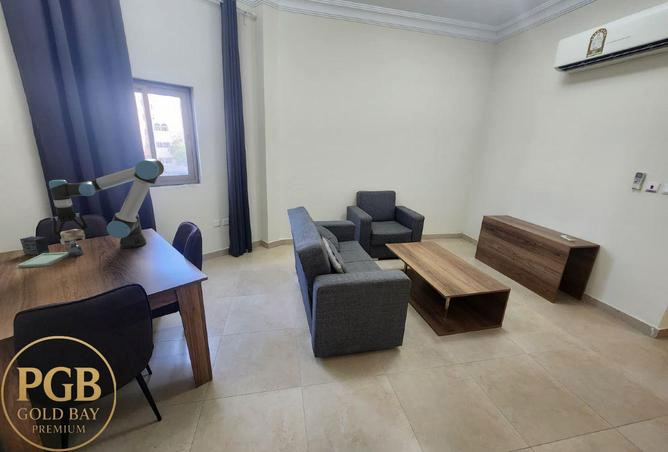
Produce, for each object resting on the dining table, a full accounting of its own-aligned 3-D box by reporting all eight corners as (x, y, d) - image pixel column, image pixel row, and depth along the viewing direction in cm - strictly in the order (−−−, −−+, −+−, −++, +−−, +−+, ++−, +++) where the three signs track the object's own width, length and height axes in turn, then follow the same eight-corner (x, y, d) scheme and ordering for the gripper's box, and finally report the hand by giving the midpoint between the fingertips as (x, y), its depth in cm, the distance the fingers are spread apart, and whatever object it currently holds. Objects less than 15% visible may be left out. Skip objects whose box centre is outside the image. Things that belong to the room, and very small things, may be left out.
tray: (70, 254, 169) (70, 251, 169) (48, 265, 152) (48, 263, 152) (44, 255, 166) (43, 253, 166) (18, 267, 149) (17, 265, 149)
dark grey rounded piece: (86, 252, 172) (82, 236, 169) (79, 256, 166) (74, 240, 163) (73, 253, 171) (69, 236, 168) (65, 257, 164) (61, 240, 161)
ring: (77, 234, 171) (76, 228, 170) (85, 237, 167) (83, 230, 166) (59, 238, 163) (57, 232, 162) (66, 241, 160) (64, 234, 158)
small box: (50, 252, 171) (46, 236, 169) (39, 256, 165) (34, 240, 162) (36, 251, 172) (31, 235, 169) (23, 255, 166) (19, 239, 163)
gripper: (83, 202, 171) (91, 236, 177) (35, 208, 152) (46, 246, 158) (89, 203, 168) (97, 237, 174) (41, 210, 149) (52, 248, 155)
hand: (73, 241), depth 166 cm, fingers closed on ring, 9 cm apart
